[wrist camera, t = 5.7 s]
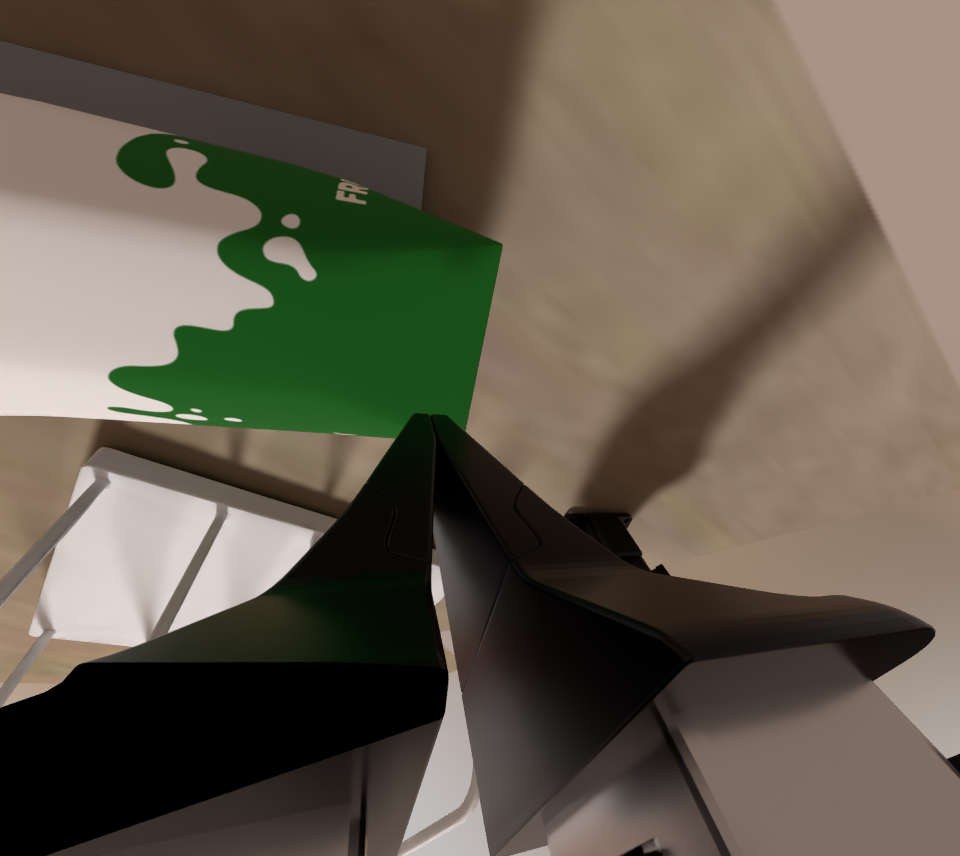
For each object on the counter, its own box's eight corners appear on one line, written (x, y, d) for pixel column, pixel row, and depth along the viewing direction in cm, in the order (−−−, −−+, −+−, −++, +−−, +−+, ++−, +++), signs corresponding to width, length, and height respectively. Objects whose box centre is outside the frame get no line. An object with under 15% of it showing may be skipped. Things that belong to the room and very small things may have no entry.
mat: (403, 408, 23) (403, 412, 22) (-86, 377, 17) (-97, 382, 16) (426, 148, 16) (427, 147, 15) (-386, -55, 10) (-418, -65, 10)
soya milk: (521, 208, 10) (-1058, -199, 4) (463, 480, 14) (-389, 452, 8) (464, 214, 17) (-137, 69, 12) (437, 390, 21) (-21, 343, 16)
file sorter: (47, 609, 26) (-274, 1007, 14) (106, 438, 20) (-375, 871, 8) (367, 654, 38) (353, 890, 25) (465, 554, 32) (511, 800, 19)
